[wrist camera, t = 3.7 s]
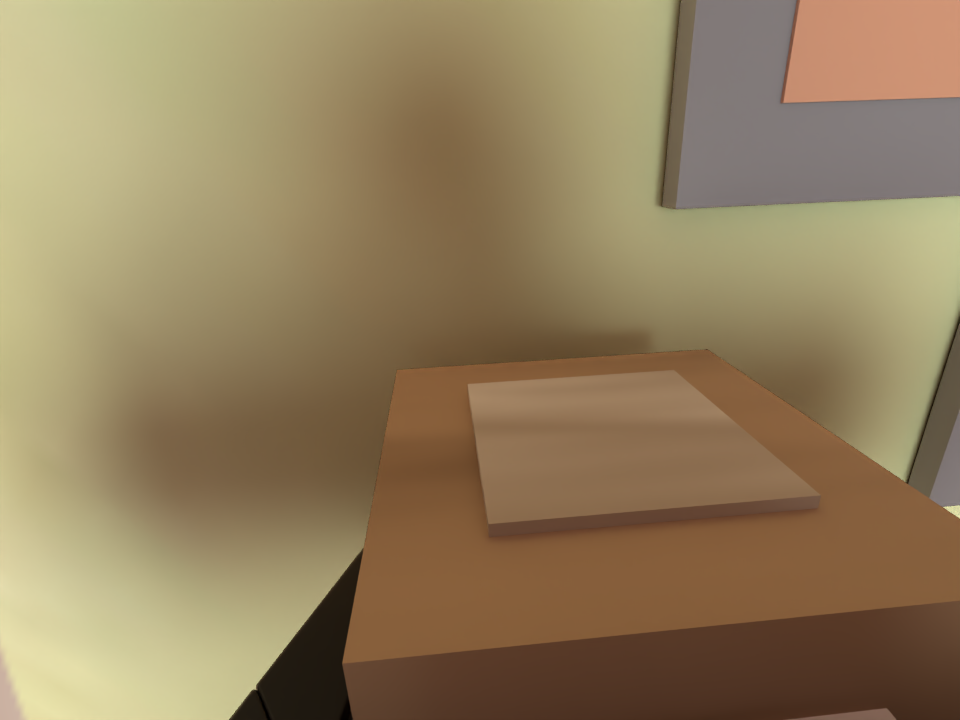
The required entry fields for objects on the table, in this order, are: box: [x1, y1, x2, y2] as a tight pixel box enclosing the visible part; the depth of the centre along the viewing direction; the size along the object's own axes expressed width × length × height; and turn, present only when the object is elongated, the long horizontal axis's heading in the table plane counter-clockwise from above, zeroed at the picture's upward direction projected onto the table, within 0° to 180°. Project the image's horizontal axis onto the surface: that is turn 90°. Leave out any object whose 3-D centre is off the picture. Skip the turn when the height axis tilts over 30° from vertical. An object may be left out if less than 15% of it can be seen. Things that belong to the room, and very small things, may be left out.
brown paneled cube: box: [342, 349, 960, 720], centre depth 7 cm, size 6×6×6 cm
